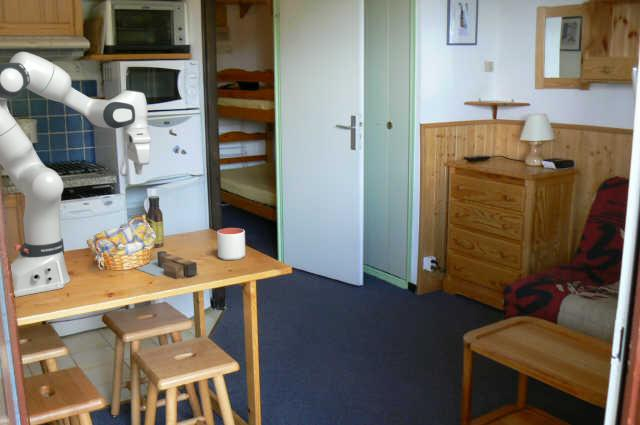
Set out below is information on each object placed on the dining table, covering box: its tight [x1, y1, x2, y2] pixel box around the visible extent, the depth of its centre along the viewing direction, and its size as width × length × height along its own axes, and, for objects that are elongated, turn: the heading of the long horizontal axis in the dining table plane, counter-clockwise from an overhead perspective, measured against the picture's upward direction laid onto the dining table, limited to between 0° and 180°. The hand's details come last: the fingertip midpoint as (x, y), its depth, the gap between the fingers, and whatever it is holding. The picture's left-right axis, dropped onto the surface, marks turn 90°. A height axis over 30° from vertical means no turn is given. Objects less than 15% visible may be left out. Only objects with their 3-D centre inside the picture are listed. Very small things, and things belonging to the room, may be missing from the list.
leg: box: [156, 250, 198, 277], centre depth 243 cm, size 19×4×5 cm, turn 47°
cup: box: [216, 227, 246, 261], centre depth 258 cm, size 10×10×10 cm
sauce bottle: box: [145, 195, 165, 248], centre depth 273 cm, size 7×6×20 cm
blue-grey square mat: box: [135, 259, 165, 277], centre depth 249 cm, size 16×16×1 cm
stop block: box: [164, 262, 199, 280], centre depth 239 cm, size 8×8×4 cm
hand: (138, 174), depth 253 cm, fingers closed
